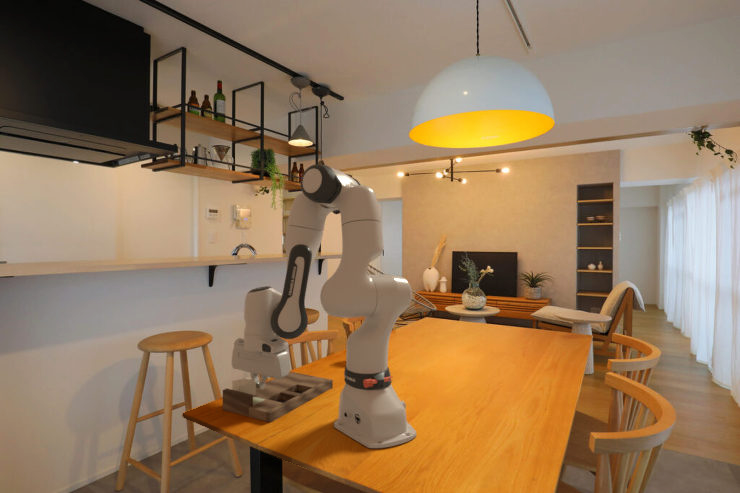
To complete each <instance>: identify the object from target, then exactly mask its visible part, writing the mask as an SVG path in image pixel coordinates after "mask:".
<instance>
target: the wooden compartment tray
mask: <svg viewBox="0 0 740 493" xmlns="http://www.w3.org/2000/svg"><path fill="white" fill-rule="evenodd" d="M333 381H334V380H333V379H330V378H326V377H325V378H324V377H319V376H314V375H310V374H304V373H299V372H296V371H295V372H294V371H289V374H288V375H287V376H286V377H284V378H282V379H276V378H272V379H270V380H268V381H267V380H266V382H265V388H264V389H262V390H261V389H258V388H256V395H255V396H253V395H252V394H248V393H244V392H239V391H235V390H232V388H231V389H230V388H224V389H222V410H224V411H227V412H231V413H233V414H238V415H242V416H245V417H249V418H253V419H255V420H259V421H262V422H263V421H264V422H266V423H272V422H274V421H275V420H277V419H279V418H281V417H283V416H285V415H286V414H288V413H290V412H292V411H293V410H296V409H297V408H298V407H301V406H302V405H304V404H305V403H307V402H310V401H312V400H313V399H315V398H317V397H319V396H321V395H322V394H324V393H325V392H327V391H330V390H331V389H333V387H334V386H333V384H334V382H333Z"/></svg>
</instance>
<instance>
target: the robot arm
mask: <svg viewBox="0 0 740 493" xmlns="http://www.w3.org/2000/svg"><path fill="white" fill-rule="evenodd" d="M300 189H301V192H300V193H297V195H296V196H295V197H294V200H293V203H292V205H291V208H290V211H289V215H288V219H287V222H286V223H287V225H286V229H285V236H284V237H285V243H284V244H285V255H286V274H285V279H284V285H283V289H282V293H281V292H279V291H278V290H276V289H274V288H273V287H272V286H269V285H268V286H260V287H259V286H258V287H255V288H252V289H251V290H249V291H248V292H247V293H246V295H245V300H244V310H243V312H244V314H243V318H244V321H245V322H244V323H245V328H244V329H243V330H244V331H243V338H241V337H239V338H237V339H236V340H235V341H234V342H233V348H232V353H231V354H232V355H231V367H232V368H233V370H236V371H237V370H238V371H242V372H245V373H250V379H252V380H254V381H255V382H256V388H258V389H261V390H262V389H264V388H265V382H267V380H268V378H272V379H274V378H276V379H282V378H284V377H286V376H287V375H288V374H289V372H290V355H289V353H288V351H287V350H288V349H289V342H288V341H287V340H293V339H296V338H299V337H300V336H301V335H302V334H303V333H305V331H306V329H307V327H308V324H309V323H308V321H309V320H308V313H307V309H306V304H305V302H306V301H305V300H306V293H307V287H308V282H309V275H310V271H311V267H312V265H313V264H314V261H315V259H316V256H317V255H318V252H319V249H320V246H321V244H322V239H323V236H324V231H325V225H326V224H325V223H326V219H327V217H328V215H330V214H331V213H333V214H334V215H339V214H340V223H341V239H342V240H341V242H342V247H341V248H342V249H341V250H342V252H341V259H340V261H339V264H338V266H337V268H336V270H335V272H334V273H333V275H331V277H329V278H328V279H326V281H325V282H324V284H323V286H322V287H321V291H320V297H319V298H320V304H321V306H322V308H323V311H325V313H326V314H328V316H331V317H335V318H336V317H337V318H345V319H346V318H347V319H351V318H361V317H364V319H363V322H362V323H361V325H360V326H359V327H358V328H357V329H355V330H354V331H353V332H351V333H350V335H348V338H347V340H346V353H345V354H346V363H345V364H346V366H344V372H343V377H344V383H345V384H344V387H343V388H342V390H341V391H340V394H339V404H338V416H337V419H336V420H335V421H334V422H333V428H335V429H337V430H338V431H340V432H342V433H343V434H345V435H346V436H348V437H350V438H351V439H353V440H355V441H356V442H358V443H360V444H361V445H363V446H365V448H369V449H383V448H390V447H394V446H398V445H401V444H404V443H405V444H406V443H407V442H410V441H412V440H414V439H415V438H416V436H417V431H416V430H415V429H414V428H413V426H412V425H411V424H410V423H409V422H408V420H407V412H406V408H407V404H406V403H405V401H404V400H401V399H400V398H399V396H398V395H397V392H396V391H395V390H394V387H393V386H392V382H393V379H392V378H393V376H392V375H391V372H390V368H389V367H388V364H389V363H388V362H389V360H388V358H389V356H388V355H389V344H390V338H391V335H392V331H393V328H394V326H395V324H396V323H397V320H398V319H399V317H400V316H401V315H402V314H403V313H404V312H405V311H406V310H407V309H408V308H409V307H410V306H411V302H412V298H413V290H412V287H411V284H410V283H409V281H408V280H407V278H405V277H404V276H399V275H395V274H389V273H388V274H387V273H386V274H384V273H383V274H368V269H369V265H370V263H371V262H374V261H375V260H376V259H378V258H379V257H380V256H381V255H382V253H383V252H384V249H385V248H384V247H385V246H384V237H383V229H382V228H383V226H382V217H381V210H380V207H379V202H378V199H377V196H376V193H375V191H374V190H373V188H371V187H370V186H366V185H364V184H363V185H362V184H361V183H360V181H358V180H357V179H356V178H354V177H351V176H350V175H348V174H346V173H345V172H344V171H341V170H339V169H336V168H333V167H330V166H328V165H326V164H312V165H311V166H309V167H307V168H306V169H305V171H304V172H303V174H302V176H301V179H300Z"/></svg>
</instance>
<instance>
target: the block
mask: <svg viewBox="0 0 740 493" xmlns="http://www.w3.org/2000/svg"><path fill="white" fill-rule="evenodd" d="M231 382H232V383H231V384H232V386H231V390H235V391H239V392H244V393H248V394H252V395H253V396H255V395H256V382H255V381H254V380H252V378H251V377H246V378H241V379H235V380H232V381H231Z"/></svg>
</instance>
